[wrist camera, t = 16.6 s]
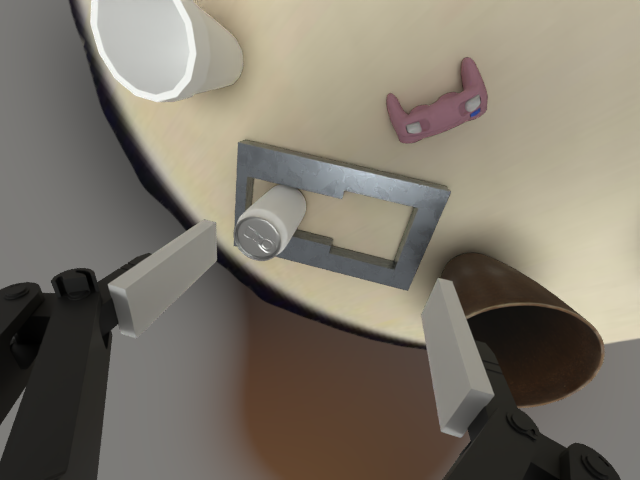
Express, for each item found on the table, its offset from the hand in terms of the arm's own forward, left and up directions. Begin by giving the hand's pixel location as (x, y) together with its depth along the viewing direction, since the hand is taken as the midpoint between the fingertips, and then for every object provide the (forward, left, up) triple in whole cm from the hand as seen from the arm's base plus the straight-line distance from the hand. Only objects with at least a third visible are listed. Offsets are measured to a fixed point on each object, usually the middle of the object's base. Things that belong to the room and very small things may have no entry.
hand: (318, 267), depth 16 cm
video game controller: (-7, -10, -25) cm, 28 cm away
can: (+8, +7, -25) cm, 27 cm away
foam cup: (+19, -10, -25) cm, 33 cm away
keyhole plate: (+1, +7, -25) cm, 26 cm away
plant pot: (-21, +11, -25) cm, 34 cm away
